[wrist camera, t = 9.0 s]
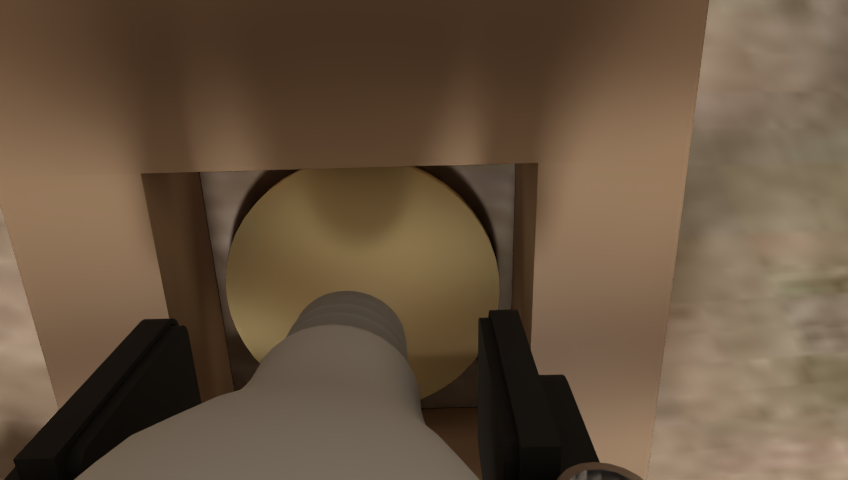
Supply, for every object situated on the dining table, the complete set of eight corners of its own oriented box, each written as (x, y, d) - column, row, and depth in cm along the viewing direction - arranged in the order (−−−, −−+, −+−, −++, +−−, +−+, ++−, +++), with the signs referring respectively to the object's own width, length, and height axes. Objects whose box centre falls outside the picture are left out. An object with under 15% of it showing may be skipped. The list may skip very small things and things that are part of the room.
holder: (9, -131, 13) (-109, -174, 10) (665, -151, 13) (735, -200, 10) (172, 567, 20) (130, 658, 17) (596, 558, 20) (625, 648, 17)
